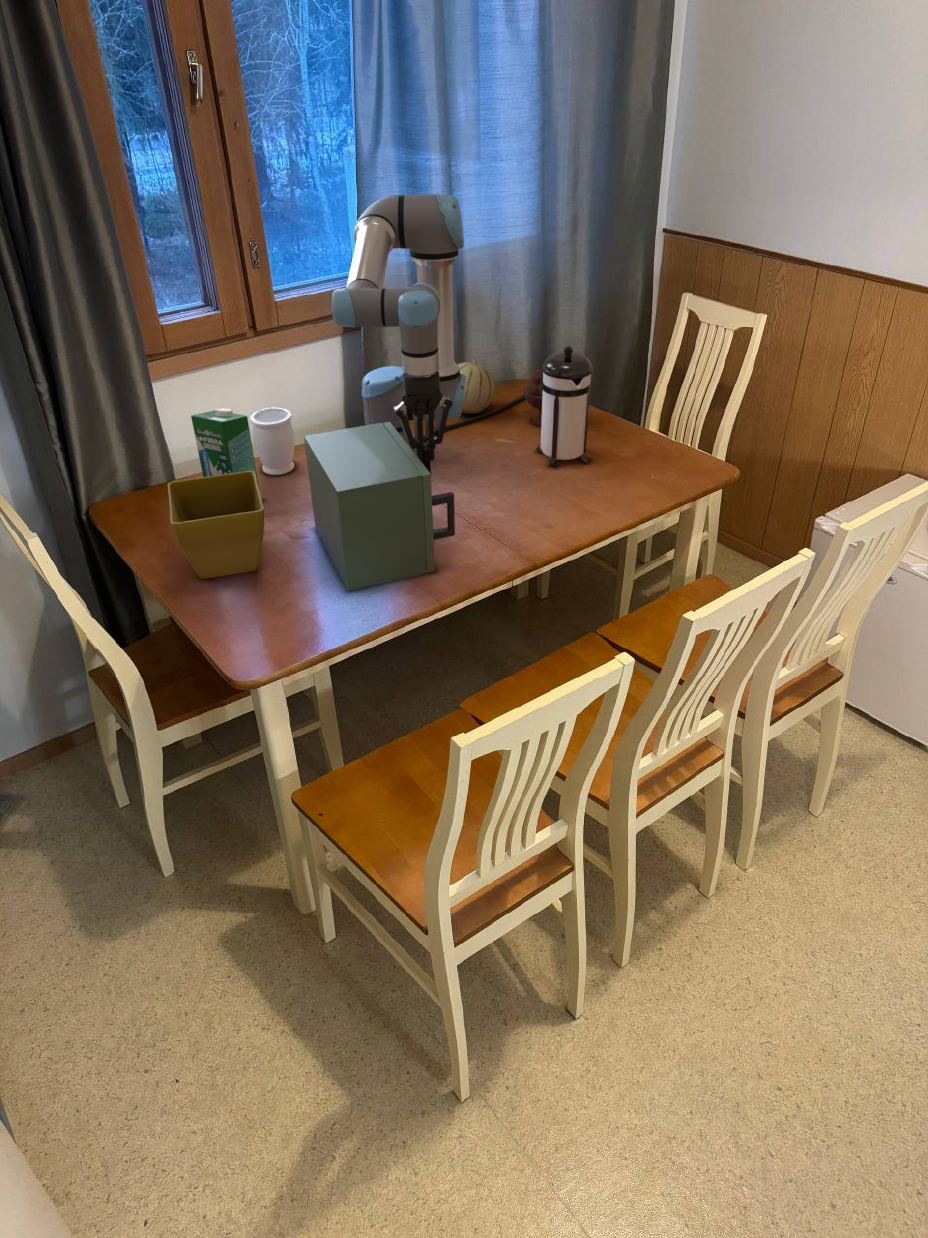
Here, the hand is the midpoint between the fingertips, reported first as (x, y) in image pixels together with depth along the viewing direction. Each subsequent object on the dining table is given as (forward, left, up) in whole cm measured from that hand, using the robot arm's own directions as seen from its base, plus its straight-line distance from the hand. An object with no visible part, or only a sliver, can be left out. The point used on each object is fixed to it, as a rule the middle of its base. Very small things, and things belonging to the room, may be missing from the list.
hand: (426, 473), depth 204 cm
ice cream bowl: (-72, -4, -18) cm, 74 cm away
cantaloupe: (-69, -26, -18) cm, 76 cm away
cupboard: (+9, -10, -18) cm, 22 cm away
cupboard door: (0, -2, -17) cm, 18 cm away
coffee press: (-55, +9, -18) cm, 58 cm away
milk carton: (+7, -51, -18) cm, 55 cm away
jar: (-14, -54, -18) cm, 59 cm away
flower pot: (+28, -36, -18) cm, 49 cm away
